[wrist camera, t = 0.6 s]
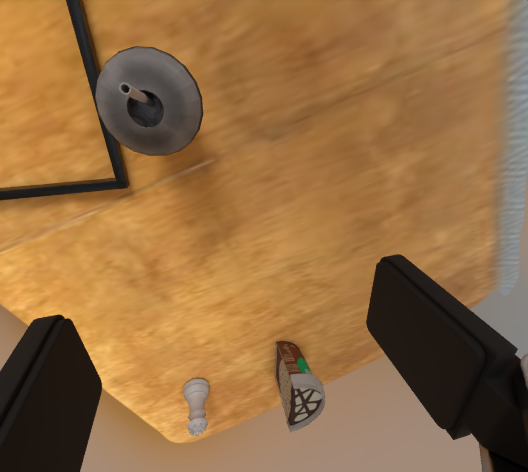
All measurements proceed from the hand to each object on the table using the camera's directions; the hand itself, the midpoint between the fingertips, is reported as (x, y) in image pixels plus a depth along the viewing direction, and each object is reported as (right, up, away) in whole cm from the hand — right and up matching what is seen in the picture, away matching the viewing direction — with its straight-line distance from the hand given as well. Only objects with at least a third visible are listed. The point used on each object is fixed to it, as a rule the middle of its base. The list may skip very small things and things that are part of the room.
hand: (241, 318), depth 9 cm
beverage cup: (-10, +17, +22) cm, 30 cm away
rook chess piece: (-12, -24, +44) cm, 51 cm away
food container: (+6, -20, +46) cm, 51 cm away
